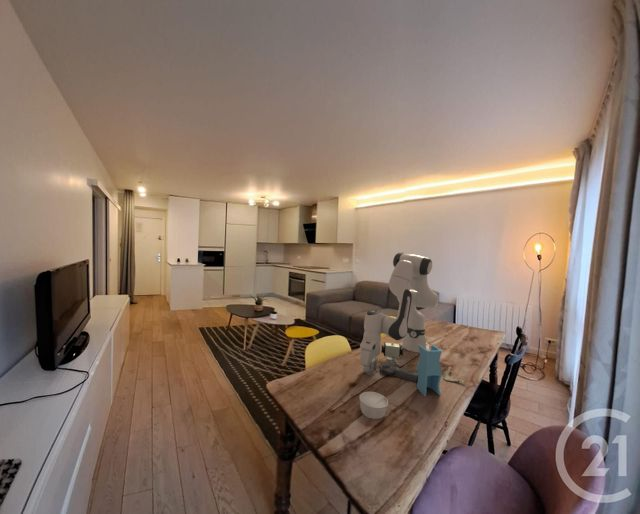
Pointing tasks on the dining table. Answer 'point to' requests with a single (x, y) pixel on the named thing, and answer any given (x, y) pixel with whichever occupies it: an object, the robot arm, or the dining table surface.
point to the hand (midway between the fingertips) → (370, 367)
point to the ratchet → (397, 371)
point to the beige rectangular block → (371, 368)
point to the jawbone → (448, 377)
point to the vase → (429, 369)
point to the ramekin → (373, 404)
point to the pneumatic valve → (392, 351)
